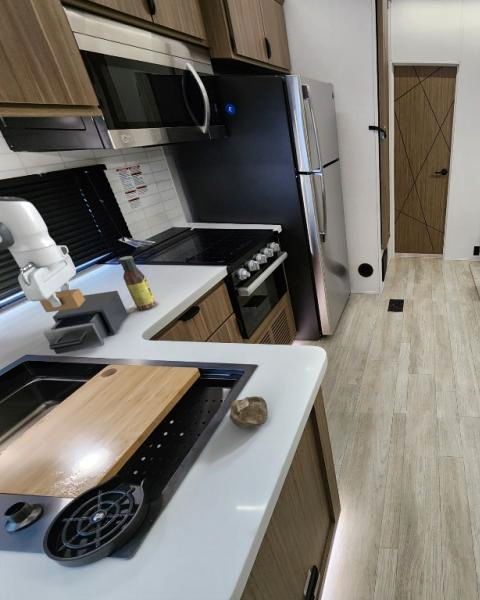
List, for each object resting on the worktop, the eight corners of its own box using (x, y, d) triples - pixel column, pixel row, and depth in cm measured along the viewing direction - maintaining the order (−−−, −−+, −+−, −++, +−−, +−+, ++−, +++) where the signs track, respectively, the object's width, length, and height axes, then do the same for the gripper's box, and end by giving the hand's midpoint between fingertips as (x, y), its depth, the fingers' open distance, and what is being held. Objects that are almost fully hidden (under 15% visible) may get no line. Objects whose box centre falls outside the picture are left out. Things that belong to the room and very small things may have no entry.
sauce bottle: (160, 305, 127) (140, 256, 118) (142, 312, 123) (120, 262, 113) (151, 301, 130) (131, 253, 121) (133, 308, 126) (111, 258, 116)
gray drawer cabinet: (115, 334, 110) (102, 309, 105) (67, 342, 106) (52, 317, 101) (127, 313, 122) (117, 290, 117) (85, 320, 117) (72, 297, 113)
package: (46, 312, 95) (38, 300, 93) (54, 304, 99) (47, 293, 97) (78, 307, 97) (72, 295, 95) (85, 300, 101) (79, 288, 100)
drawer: (97, 354, 98) (85, 332, 95) (48, 364, 95) (34, 341, 91) (116, 324, 113) (107, 304, 110) (75, 331, 110) (63, 311, 106)
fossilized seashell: (224, 404, 78) (228, 439, 71) (234, 383, 76) (240, 418, 69) (255, 404, 83) (262, 437, 76) (266, 385, 81) (274, 417, 74)
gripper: (34, 268, 83) (61, 315, 90) (69, 244, 100) (89, 285, 107) (1, 272, 81) (31, 320, 88) (42, 247, 98) (65, 289, 104)
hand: (63, 301), depth 97 cm, fingers closed on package, 5 cm apart
